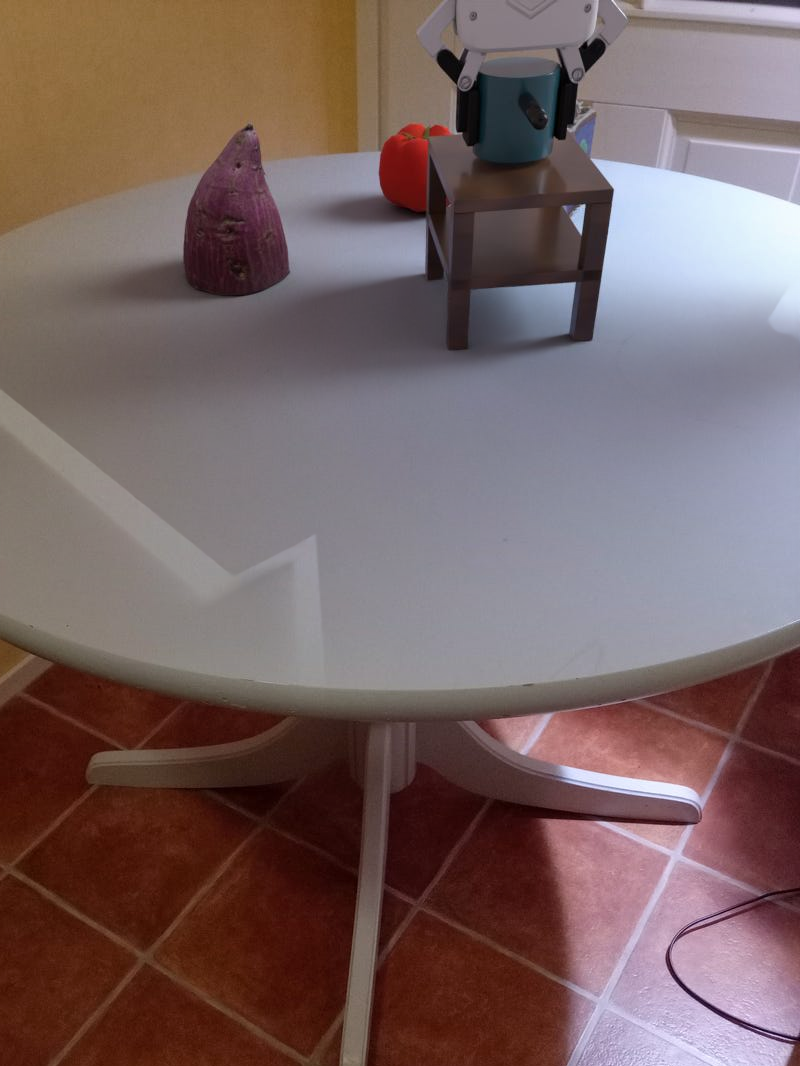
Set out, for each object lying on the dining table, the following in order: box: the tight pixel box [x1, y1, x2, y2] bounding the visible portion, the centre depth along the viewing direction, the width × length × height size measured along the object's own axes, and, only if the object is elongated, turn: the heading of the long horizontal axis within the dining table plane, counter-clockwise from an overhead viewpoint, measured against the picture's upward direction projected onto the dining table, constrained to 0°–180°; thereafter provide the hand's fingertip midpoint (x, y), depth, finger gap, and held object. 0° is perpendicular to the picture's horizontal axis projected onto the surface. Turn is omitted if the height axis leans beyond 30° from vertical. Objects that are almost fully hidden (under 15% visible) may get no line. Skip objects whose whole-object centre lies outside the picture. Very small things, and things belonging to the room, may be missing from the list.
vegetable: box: [182, 121, 291, 296], centre depth 91 cm, size 10×10×15 cm
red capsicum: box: [378, 123, 453, 213], centre depth 103 cm, size 9×9×8 cm
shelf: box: [424, 129, 615, 351], centre depth 83 cm, size 12×16×12 cm
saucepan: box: [472, 56, 561, 163], centre depth 75 cm, size 6×12×6 cm, turn 2°
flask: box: [563, 99, 597, 218], centre depth 98 cm, size 9×3×11 cm, turn 152°
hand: (513, 136), depth 78 cm, fingers closed on saucepan, 6 cm apart
